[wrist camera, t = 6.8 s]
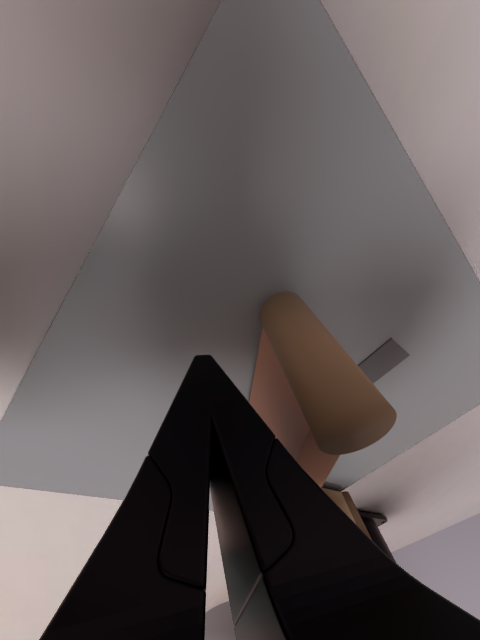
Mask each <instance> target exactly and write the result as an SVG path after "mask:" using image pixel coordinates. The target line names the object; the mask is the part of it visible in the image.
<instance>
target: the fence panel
mask: <svg viewBox="0 0 480 640" xmlns="http://www.w3.org/2000/svg"><path fill="white" fill-rule="evenodd" d="M259 317H260V321H261V324H262V326H263V328H262V333H261V339H260V344H259V350H258V355H257V361H256V366H255V372H254V377H253V383H252V388H251V394H250V399H249V403H250V404H251V406H252V407H253V408H254V409H255V411H256V412H257V413H258V414H259V416H260V417H261V418H262V419H263V421H264V422H265V423H266V424H267V426H268V427H269V428H270V429H271V431H272V432H273V433H274V434H275V438H278V439H279V440H280V442H281V443H282V444H283V446H284V447H285V448H286V449H287V451H288V452H289V453H290V454H291V455H292V457H293V458H294V459H295V460H296V461H297V462H298V464H299V465H300V466H301V467H302V468H303V469H304V471H305V472H306V473H307V474H308V475H309V476H310V477H311V478H312V479H313V480H314V481H315V482H316V483H317V484H318V485H319V487H320V488H321V487H322V485H323V484H324V482H325V480H326V479H327V477H328V475H329V473H330V472H331V470H332V468H333V467H334V465H335V463H336V461H337V460H338V458H339V456H340V455H342V454H348V453H352V452H356V451H359V450H361V449H364V448H366V447H368V446H370V445H372V444H374V443H375V442H377V441H378V440H380V439H381V438H382V437H384V436H385V435H386V434H387V433H388V432H389V431H390V430H391V428H392V427H393V426H394V424H395V422H396V418H397V413H396V411H395V409H394V408H393V407H392V406H391V404H390V403H389V402H388V401H387V400H386V399H385V397H384V396H383V395H382V394H381V393H380V391H379V390H378V389H377V388H376V387H375V385H374V384H373V383H372V382H371V381H370V380H369V378H368V377H367V376H366V375H365V374H364V372H363V371H362V370H361V369H360V368H359V366H358V365H357V364H356V363H355V362H354V361H353V359H352V358H351V357H350V356H349V355H348V353H347V352H346V351H345V350H344V349H343V347H342V346H341V345H340V344H339V343H338V342H337V340H336V339H335V338H334V337H333V336H332V334H331V333H330V332H329V331H328V330H327V329H326V327H325V326H324V325H323V324H322V323H321V321H320V320H319V319H318V318H317V317H316V315H315V314H314V313H313V312H312V311H311V310H310V308H309V307H308V306H307V305H306V304H305V302H304V301H303V300H302V299H301V298H300V297H299V296H298V295H297V294H295V293H293V292H287V291H285V292H279V293H276V294H274V295H272V296H271V297H269V298H268V299H267V300H266V301H265V302H264V303H263V305H262V307H261V309H260V314H259Z"/></svg>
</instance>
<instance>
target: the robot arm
mask: <svg viewBox="0 0 480 640" xmlns="http://www.w3.org/2000/svg"><path fill="white" fill-rule="evenodd" d="M210 492H211V497H212V503H213V509H214V515H215V521H216V526H217V532H218V538H219V544H220V549H221V555H222V561H223V567H224V573H225V578H226V584H227V590H228V596H229V601H230V607H231V613H232V619H233V624H234V625H235V627H234V631H235V636H236V640H480V620H479V619H477V618H475V617H474V616H472V615H471V614H469V613H468V612H466V611H464V610H463V609H461V608H460V607H458V606H456V605H455V604H453V603H452V602H450V601H449V600H447V599H445V598H444V597H442V596H441V595H439V594H438V593H436V592H434V591H433V590H431V589H430V588H428V587H427V586H425V585H424V584H422V583H421V582H419V581H418V580H417V579H415V578H414V577H413V576H411V575H410V574H408V573H407V572H406V571H404V569H402V568H401V567H400V566H399V565H397V564H396V562H395V560H394V558H393V556H392V554H391V552H390V550H389V548H388V546H387V544H386V542H385V540H384V538H383V536H382V535H381V533H380V531H379V529H378V526H380V525H382V524H384V523H386V522H387V521H388V520H387V518H386V517H385V516H383V515H378V514H372V513H366V512H361V511H358V513H359V515H360V517H361V519H362V521H363V523H364V525H365V527H366V529H367V531H368V533H369V535H370V537H371V539H372V540H371V539H370V538H369V537H368V536H367V535H366V534H365V533H364V532H363V531H362V530H361V529H360V528H359V527H358V526H357V525H356V524H355V523H354V522H353V521H352V520H351V518H350V517H349V516H348V515H347V514H346V513H345V512H344V511H343V510H342V509H341V508H340V507H339V506H338V505H337V504H336V503H335V502H334V501H333V500H332V499H331V498H330V497H329V496H328V495H327V494H326V493H325V492H324V491H323V490H322V489H321V488H320V487H319V485H318V484H317V483H316V482H315V481H314V480H313V479H312V478H311V477H310V476H309V475H308V474H307V473H306V472H305V471H304V469H303V468H302V467H301V466H300V465H299V464H298V462H297V461H296V460H295V459H294V458H293V457H292V455H291V454H290V453H289V452H288V451H287V449H286V448H285V447H284V446H283V444H282V443H281V442H280V440H279V439H278V438H275V434H274V433H273V432H272V431H271V429H270V428H269V427H268V426H267V424H266V423H265V422H264V421H263V419H262V418H261V417H260V416H259V414H258V413H257V412H256V411H255V409H254V408H253V407H252V406H251V404H250V403H249V402H248V401H247V399H246V398H245V397H244V396H243V394H242V393H241V392H240V391H239V389H238V388H237V387H236V386H235V384H234V383H233V382H232V381H231V379H230V378H229V377H228V376H227V374H226V373H225V372H224V371H223V369H222V368H221V367H220V366H219V364H218V363H217V362H216V361H215V359H214V358H213V357H212V356H211V355H196V356H194V358H193V360H192V362H191V364H190V366H189V368H188V370H187V373H186V375H185V377H184V379H183V381H182V383H181V385H180V387H179V389H178V391H177V393H176V395H175V397H174V399H173V402H172V404H171V406H170V408H169V410H168V412H167V414H166V416H165V418H164V420H163V422H162V424H161V426H160V428H159V431H158V433H157V435H156V437H155V439H154V441H153V443H152V445H151V447H150V449H149V451H148V456H146V457H145V459H144V461H143V463H142V465H141V467H140V469H139V472H138V474H137V475H136V477H135V479H134V481H133V483H132V485H131V487H130V489H129V491H128V493H127V495H126V497H125V499H124V500H123V502H122V504H121V506H120V507H119V509H118V511H117V513H116V514H115V516H114V518H113V519H112V521H111V523H110V525H109V526H108V528H107V530H106V531H105V533H104V535H103V536H102V538H101V540H100V541H99V543H98V545H97V546H96V548H95V549H94V551H93V553H92V554H91V556H90V558H89V559H88V561H87V563H86V564H85V566H84V567H83V569H82V571H81V572H80V574H79V576H78V577H77V579H76V581H75V582H74V584H73V585H72V587H71V589H70V590H69V592H68V594H67V595H66V597H65V599H64V600H63V602H62V603H61V605H60V607H59V608H58V610H57V612H56V613H55V615H54V617H53V618H52V620H51V621H50V623H49V625H48V626H47V628H46V630H45V631H44V633H43V634H42V636H41V638H40V639H39V640H204V635H205V632H204V631H205V605H206V593H205V592H206V577H207V550H208V522H209V494H210Z"/></svg>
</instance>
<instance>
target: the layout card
mask: <svg viewBox="0 0 480 640" xmlns="http://www.w3.org/2000/svg"><path fill="white" fill-rule="evenodd" d="M285 291H287V292H293V293H295V294H297V295H298V296H299V297H300V298H301V299H302V300H303V301H304V302H305V304H306V305H307V306H308V307H309V308H310V310H311V311H312V312H313V313H314V314H315V315H316V317H317V318H318V319H319V320H320V321H321V323H322V324H323V325H324V326H325V327H326V329H327V330H328V331H329V332H330V333H331V334H332V336H333V337H334V338H335V339H336V340H337V342H338V343H339V344H340V345H341V346H342V347H343V349H344V350H345V351H346V352H347V353H348V355H349V356H350V357H351V358H352V359H353V361H354V362H355V363H356V364H357V365H358V366H359V368H360V369H361V370H362V371H363V372H364V374H365V375H366V376H367V377H368V378H369V380H370V381H371V382H372V383H373V384H374V385H375V387H376V388H377V389H378V390H379V391H380V393H381V394H382V395H383V396H384V397H385V399H386V400H387V401H388V402H389V403H390V404H391V406H392V407H393V408H394V409H395V411H396V413H397V418H396V422H395V424H394V426H393V427H392V428H391V430H390V431H389V432H388V433H387V434H386V435H385V436H384V437H382V438H381V439H380V440H378V441H377V442H375V443H374V444H372V445H370V446H368V447H366V448H364V449H361V450H359V451H356V452H352V453H348V454H342V455H340V456H339V458H338V460H337V461H336V463H335V465H334V467H333V468H332V470H331V472H330V473H329V475H328V477H327V479H326V480H325V482H324V484H323V485H322V487H321V488H326V489H330V490H334V491H339V492H341V491H342V490H344V489H345V488H347V487H349V486H350V485H352V484H353V483H355V482H357V481H358V480H360V479H361V478H363V477H365V476H366V475H368V474H369V473H371V472H373V471H374V470H376V469H377V468H379V467H381V466H382V465H384V464H385V463H387V462H388V461H390V460H392V459H393V458H395V457H396V456H398V455H400V454H401V453H403V452H404V451H406V450H408V449H409V448H411V447H412V446H414V445H416V444H417V443H419V442H420V441H422V440H424V439H425V438H427V437H428V436H430V435H431V434H433V433H435V432H436V431H438V430H439V429H441V428H443V427H444V426H446V425H447V424H449V423H451V422H452V421H454V420H455V419H457V418H459V417H460V416H462V415H463V414H465V413H467V412H468V411H470V410H471V409H473V408H475V407H476V406H478V405H479V404H480V281H479V280H478V278H477V276H476V274H475V272H474V271H473V269H472V267H471V265H470V264H469V262H468V260H467V258H466V257H465V255H464V253H463V251H462V250H461V248H460V246H459V244H458V243H457V241H456V239H455V237H454V235H453V234H452V232H451V230H450V228H449V227H448V225H447V223H446V221H445V220H444V218H443V216H442V214H441V213H440V211H439V209H438V207H437V206H436V204H435V202H434V200H433V198H432V197H431V195H430V193H429V191H428V190H427V188H426V186H425V184H424V183H423V181H422V179H421V177H420V176H419V174H418V172H417V170H416V168H415V167H414V165H413V163H412V161H411V160H410V158H409V156H408V154H407V153H406V151H405V149H404V147H403V146H402V144H401V142H400V140H399V139H398V137H397V135H396V133H395V131H394V130H393V128H392V126H391V124H390V123H389V121H388V119H387V117H386V116H385V114H384V112H383V110H382V109H381V107H380V105H379V103H378V102H377V100H376V98H375V96H374V94H373V93H372V91H371V89H370V87H369V86H368V84H367V82H366V80H365V79H364V77H363V75H362V73H361V72H360V70H359V68H358V66H357V65H356V63H355V61H354V59H353V57H352V56H351V54H350V52H349V50H348V49H347V47H346V45H345V43H344V42H343V40H342V38H341V36H340V35H339V33H338V31H337V29H336V28H335V26H334V24H333V22H332V20H331V19H330V17H329V15H328V13H327V12H326V10H325V8H324V6H323V5H322V3H321V1H320V0H222V1H221V3H220V4H219V6H218V8H217V10H216V12H215V14H214V16H213V18H212V20H211V22H210V23H209V25H208V27H207V29H206V31H205V33H204V35H203V37H202V39H201V41H200V43H199V44H198V46H197V48H196V50H195V52H194V54H193V56H192V58H191V60H190V62H189V63H188V65H187V67H186V69H185V71H184V73H183V75H182V77H181V79H180V81H179V83H178V84H177V86H176V88H175V90H174V92H173V94H172V96H171V98H170V100H169V102H168V103H167V105H166V107H165V109H164V111H163V113H162V115H161V117H160V119H159V121H158V123H157V124H156V126H155V128H154V130H153V132H152V134H151V136H150V138H149V140H148V142H147V143H146V145H145V147H144V149H143V151H142V153H141V155H140V157H139V159H138V161H137V162H136V164H135V166H134V168H133V170H132V172H131V174H130V176H129V178H128V180H127V182H126V183H125V185H124V187H123V189H122V191H121V193H120V195H119V197H118V199H117V201H116V202H115V204H114V206H113V208H112V210H111V212H110V214H109V216H108V218H107V220H106V222H105V223H104V225H103V227H102V229H101V231H100V233H99V235H98V237H97V239H96V241H95V242H94V244H93V246H92V248H91V250H90V252H89V254H88V256H87V258H86V260H85V262H84V263H83V265H82V267H81V269H80V271H79V273H78V275H77V277H76V279H75V281H74V282H73V284H72V286H71V288H70V290H69V292H68V294H67V296H66V298H65V300H64V302H63V303H62V305H61V307H60V309H59V311H58V313H57V315H56V317H55V319H54V321H53V322H52V324H51V326H50V328H49V330H48V332H47V334H46V336H45V338H44V340H43V341H42V343H41V345H40V347H39V349H38V351H37V353H36V355H35V357H34V359H33V361H32V362H31V364H30V366H29V368H28V370H27V372H26V374H25V376H24V378H23V380H22V381H21V383H20V385H19V387H18V389H17V391H16V393H15V395H14V397H13V399H12V401H11V402H10V404H9V406H8V408H7V410H6V412H5V414H4V416H3V418H2V420H1V421H0V486H7V487H16V488H24V489H33V490H41V491H50V492H59V493H67V494H76V495H84V496H93V497H101V498H110V499H118V500H124V499H125V497H126V495H127V493H128V491H129V489H130V487H131V485H132V483H133V481H134V479H135V477H136V475H137V474H138V472H139V469H140V467H141V465H142V463H143V461H144V459H145V457H146V456H148V451H149V449H150V447H151V445H152V443H153V441H154V439H155V437H156V435H157V433H158V431H159V428H160V426H161V424H162V422H163V420H164V418H165V416H166V414H167V412H168V410H169V408H170V406H171V404H172V402H173V399H174V397H175V395H176V393H177V391H178V389H179V387H180V385H181V383H182V381H183V379H184V377H185V375H186V373H187V370H188V368H189V366H190V364H191V362H192V360H193V358H194V356H196V355H211V356H212V357H213V358H214V359H215V361H216V362H217V363H218V364H219V366H220V367H221V368H222V369H223V371H224V372H225V373H226V374H227V376H228V377H229V378H230V379H231V381H232V382H233V383H234V384H235V386H236V387H237V388H238V389H239V391H240V392H241V393H242V394H243V396H244V397H245V398H246V399H247V401H248V402H249V399H250V394H251V388H252V383H253V377H254V372H255V366H256V361H257V355H258V350H259V344H260V339H261V333H262V328H263V326H262V324H261V321H260V317H259V314H260V309H261V307H262V305H263V303H264V302H265V301H266V300H267V299H268V298H269V297H271V296H272V295H274V294H276V293H279V292H285ZM209 510H212V511H214V509H213V503H212V497H211V492H210V494H209Z"/></svg>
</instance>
